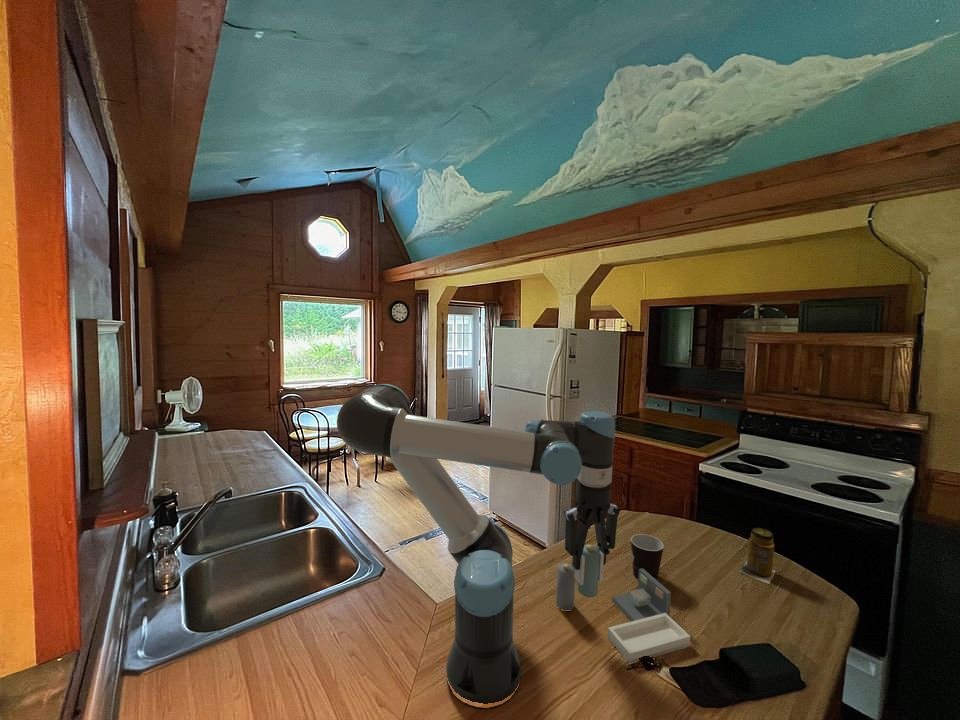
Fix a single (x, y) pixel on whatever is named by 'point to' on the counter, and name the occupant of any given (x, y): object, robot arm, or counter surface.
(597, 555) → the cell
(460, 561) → the robot arm
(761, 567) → the condiment
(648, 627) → the trough
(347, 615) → the counter surface
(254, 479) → the counter surface
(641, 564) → the coffee mug
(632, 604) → the grey l-shaped piece
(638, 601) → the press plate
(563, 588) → the cell
